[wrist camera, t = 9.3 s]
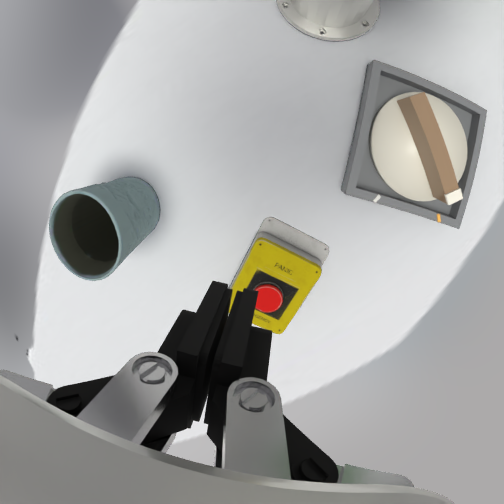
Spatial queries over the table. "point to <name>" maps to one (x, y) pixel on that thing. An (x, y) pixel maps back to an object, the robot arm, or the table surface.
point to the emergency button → (279, 272)
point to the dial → (419, 147)
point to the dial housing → (360, 163)
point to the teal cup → (102, 225)
